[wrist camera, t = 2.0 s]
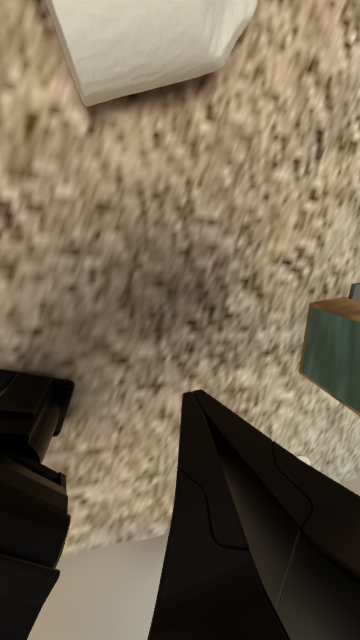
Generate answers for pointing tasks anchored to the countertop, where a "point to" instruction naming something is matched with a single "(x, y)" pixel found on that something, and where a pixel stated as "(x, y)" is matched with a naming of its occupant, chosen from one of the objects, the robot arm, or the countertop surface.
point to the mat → (355, 292)
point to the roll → (145, 41)
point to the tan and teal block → (334, 349)
